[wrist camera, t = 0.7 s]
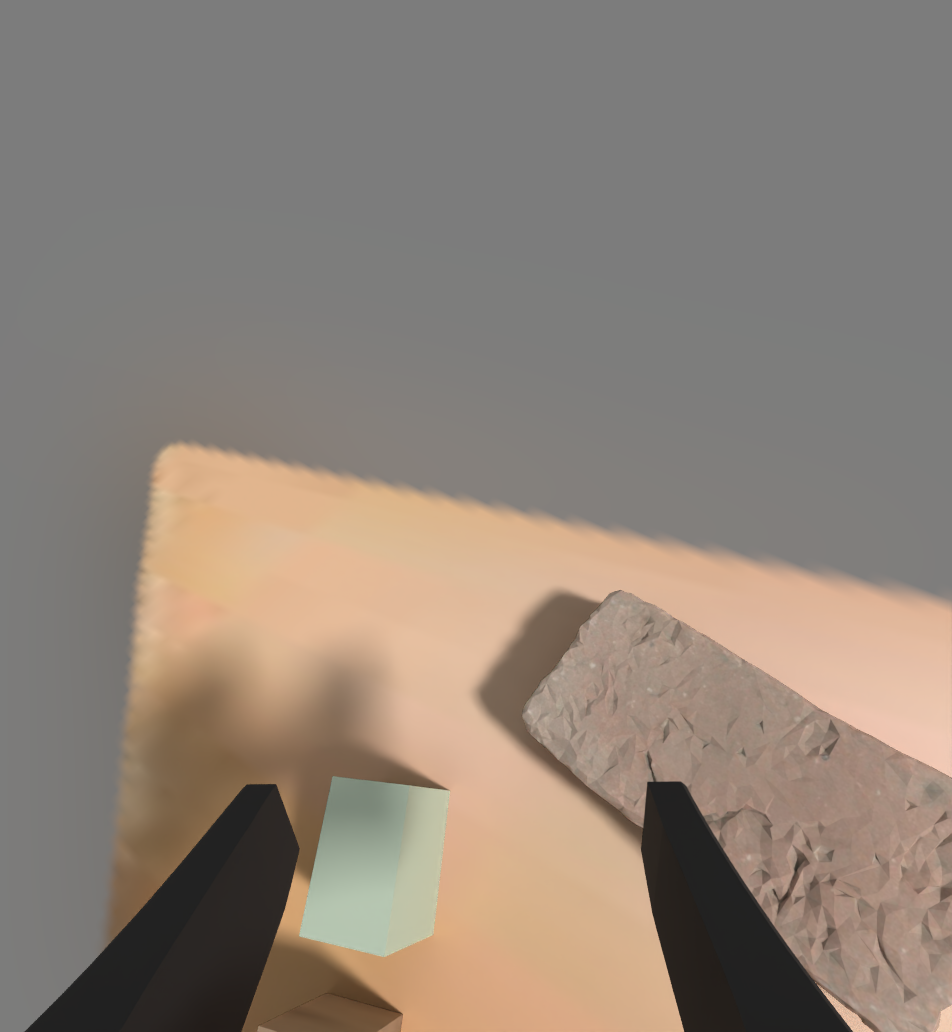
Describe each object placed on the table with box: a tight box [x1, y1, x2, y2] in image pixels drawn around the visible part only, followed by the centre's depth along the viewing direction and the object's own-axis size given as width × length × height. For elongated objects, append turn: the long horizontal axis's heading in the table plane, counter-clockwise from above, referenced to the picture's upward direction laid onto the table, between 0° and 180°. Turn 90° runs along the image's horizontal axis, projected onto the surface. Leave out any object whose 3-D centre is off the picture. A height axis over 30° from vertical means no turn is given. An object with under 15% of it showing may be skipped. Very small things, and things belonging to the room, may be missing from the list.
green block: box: [299, 776, 450, 957], centre depth 25 cm, size 6×4×5 cm, turn 174°
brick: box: [522, 590, 952, 1032], centre depth 23 cm, size 17×8×5 cm, turn 50°
